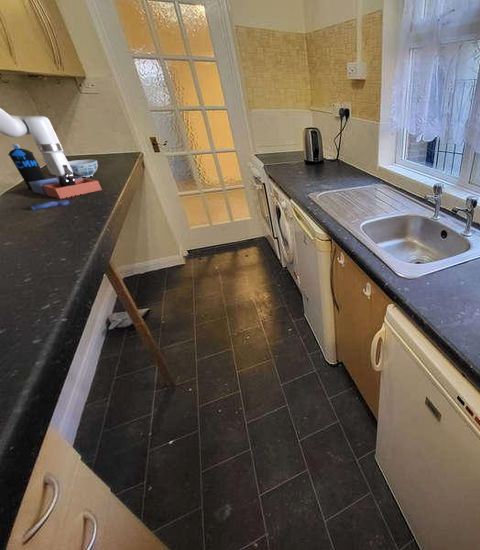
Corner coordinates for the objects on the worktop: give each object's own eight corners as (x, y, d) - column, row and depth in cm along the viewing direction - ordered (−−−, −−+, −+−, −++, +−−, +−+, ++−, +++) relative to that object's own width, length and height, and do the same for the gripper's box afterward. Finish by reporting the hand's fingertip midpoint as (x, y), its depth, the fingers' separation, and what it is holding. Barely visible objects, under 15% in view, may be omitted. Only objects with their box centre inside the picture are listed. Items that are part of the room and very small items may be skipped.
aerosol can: (28, 187, 147) (3, 143, 137) (50, 184, 152) (27, 142, 141) (28, 190, 142) (1, 145, 132) (51, 187, 147) (27, 144, 136)
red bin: (60, 199, 132) (55, 188, 129) (48, 195, 136) (42, 185, 133) (102, 190, 145) (97, 180, 142) (89, 187, 148) (85, 178, 146)
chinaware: (70, 175, 168) (63, 161, 164) (103, 172, 176) (97, 158, 172) (67, 181, 158) (59, 166, 154) (102, 177, 166) (96, 162, 162)
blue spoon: (34, 212, 117) (31, 207, 116) (29, 210, 119) (26, 205, 118) (71, 203, 127) (69, 199, 126) (66, 202, 128) (64, 197, 127)
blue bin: (45, 195, 136) (39, 185, 134) (33, 192, 140) (28, 182, 138) (87, 186, 149) (82, 177, 147) (75, 184, 153) (70, 175, 151)
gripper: (29, 147, 129) (51, 189, 138) (49, 150, 123) (71, 194, 132) (51, 145, 135) (70, 185, 144) (71, 148, 129) (90, 190, 138)
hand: (70, 189), depth 138 cm, fingers open, 4 cm apart
